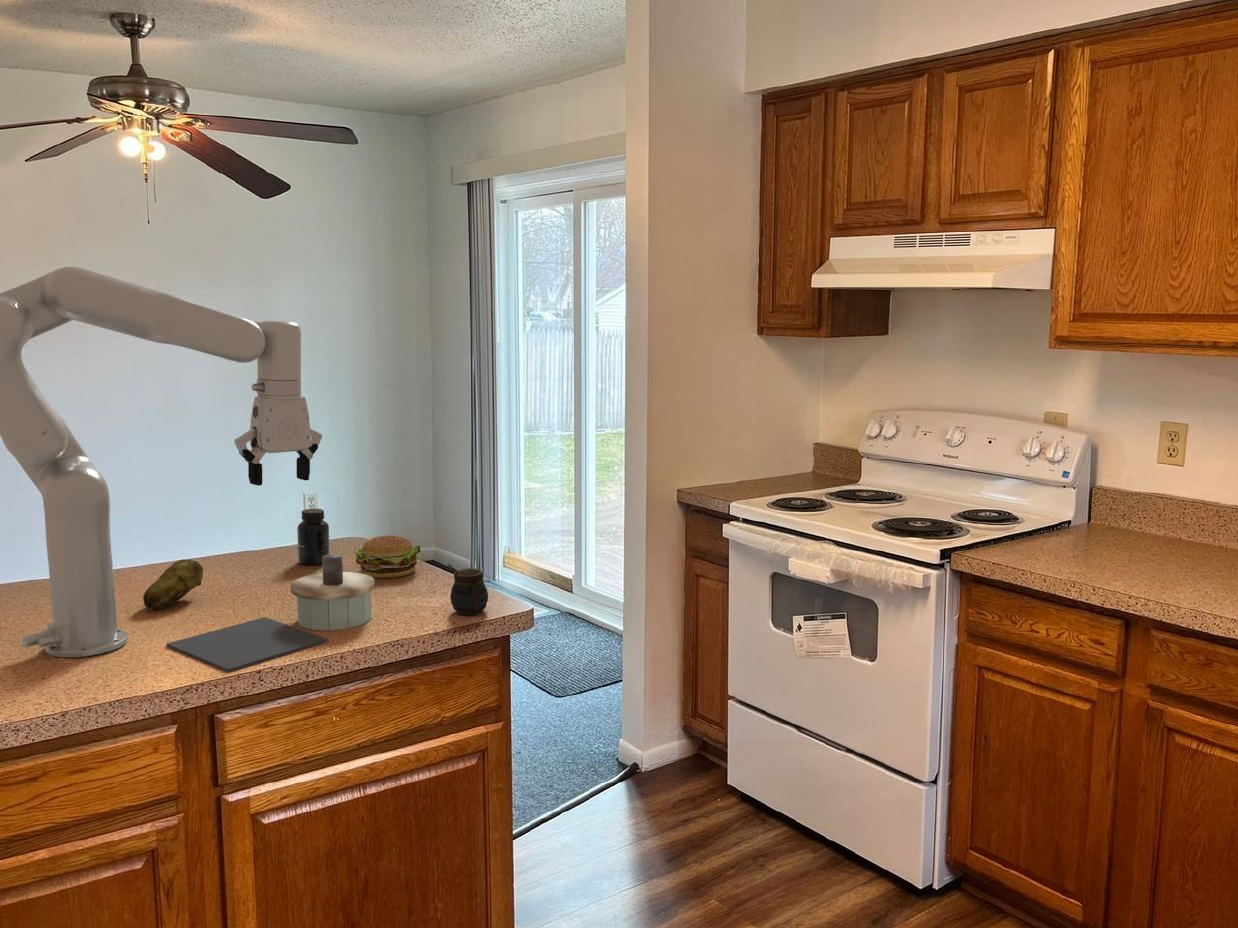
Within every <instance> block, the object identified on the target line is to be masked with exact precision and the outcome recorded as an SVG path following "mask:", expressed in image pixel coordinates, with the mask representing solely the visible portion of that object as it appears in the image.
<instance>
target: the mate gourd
mask: <svg viewBox="0 0 1238 928" xmlns="http://www.w3.org/2000/svg"><path fill="white" fill-rule="evenodd" d="M447 566H448V567H449V568H450V569H451V570H452V571H453V572H454V573H453V579H454V582H453V584H452V587H451V590H450V591H451V592H450V595H449V596H450V603H451V606H452V609H453V610H454V611H456V613H458V614H459V615H462V616H476V615H479V614H481V613H482V612H484V610H485V609H486V607H487V604H488V600H489V593H488V589H487V586H486V584H485V583H484V582H485V581H484V571H483V570H482V569H480V568H475V567H467V568H461V569H455V568H454V567H453V566H452V565H451V563H447Z"/></svg>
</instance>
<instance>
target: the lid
mask: <svg viewBox="0 0 1238 928" xmlns="http://www.w3.org/2000/svg"><path fill="white" fill-rule="evenodd" d="M321 566H322V570H321V571H322V573H321V572H320V573H315V574H311V575H307V576H303V577H300V578H298V579H296V580H294V581H292V582H291V584H290V592H291V594H292V595H293V596H295V597H296V598H297V597H300V598H305V599H313V600H335V599H344V598H350V597H355V596H359V595H362V594H365V593H368V592H370V591H371V592H372V591H373V589H375V584H376V583H375V580H376V579H375V578H373V577H371V576H369V575H366V574H362V573H361V572H353V571H352V572H351V571H344V570H343V568H344V565H343V555H342V554H336V553H335V554H334V553H330V555H325V556H322V565H321Z"/></svg>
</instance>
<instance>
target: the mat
mask: <svg viewBox="0 0 1238 928" xmlns="http://www.w3.org/2000/svg"><path fill="white" fill-rule="evenodd" d="M328 640H329V639H328V638H327V637H323V636H320V635H318V634H315V633H312V632H309V631H306V630H303V629H301V628H297V627H294V626H292V625H289V624H287V623H284V622H280V621H277V620H274V619H272V618H269V617H266V616H264V617H260V618H256V619H253V620H249V621H245V622H241V623H237V624H234V625H231V626H226V627H222V628H219V629H216V630H212V631H207V632H204V633H200V634H197V635H193V636H190V637H185V638H182V639H178V640H175V641H171V642H168V643H166V647H167V648H171V649H172V650H175V651H177V652H180V653H181V654H184V655H186V656H188V657H192V658H194V659H195V660H198V661H201V662H203V663H205V664H208V665H210V666H212V667H215V668H217V669H219V670H222V671H225V672H227V673H230V672H234V671H238V670H241V669H243V668H247V667H249V666H253V665H257V664H260V663H263V662H266V661H269V660H273V659H276V658H279V657H281V656H282V657H284V656H285V655H290V654H292V653H296V652H298V651H303V650H306V649H309V648H312V647H316V646H317V645H318V646H319V645H321V644H324V643H327V642H329V641H328Z"/></svg>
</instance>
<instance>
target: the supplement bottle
mask: <svg viewBox="0 0 1238 928" xmlns="http://www.w3.org/2000/svg"><path fill="white" fill-rule="evenodd" d="M324 519H325V510H324V509H322V508H307V509H303V510H301V520H302V521H301V522H299V524H298V525H297V529H296V530H297V558H298V559H297V560H298V563H299V564H300V565H302V566H306V567H309V566H310V567H315V566H316V567H317V566H322V556H325V555H330V554H331V553H330V552H331V551H330V525H329V524H328V522H326V521H325V520H324Z"/></svg>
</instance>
